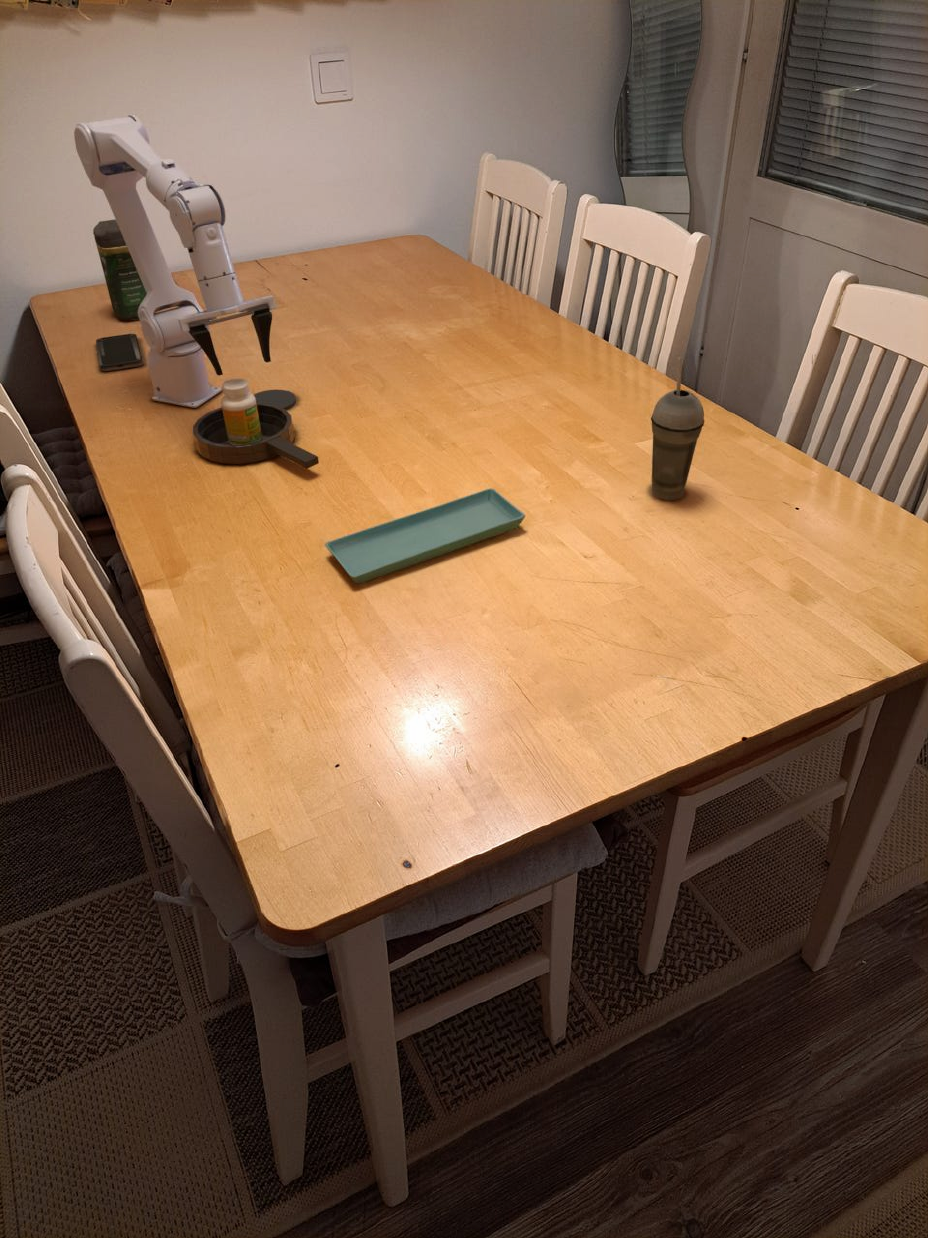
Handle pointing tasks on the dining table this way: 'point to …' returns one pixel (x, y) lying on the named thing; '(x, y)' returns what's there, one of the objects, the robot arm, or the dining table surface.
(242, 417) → the supplement bottle
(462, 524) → the teal serving tray
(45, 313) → the dining table surface
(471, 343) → the dining table surface
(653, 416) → the beverage cup
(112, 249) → the coffee jar
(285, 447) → the pan handle
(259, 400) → the coaster
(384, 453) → the dining table surface
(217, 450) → the pan
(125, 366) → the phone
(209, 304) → the robot arm
